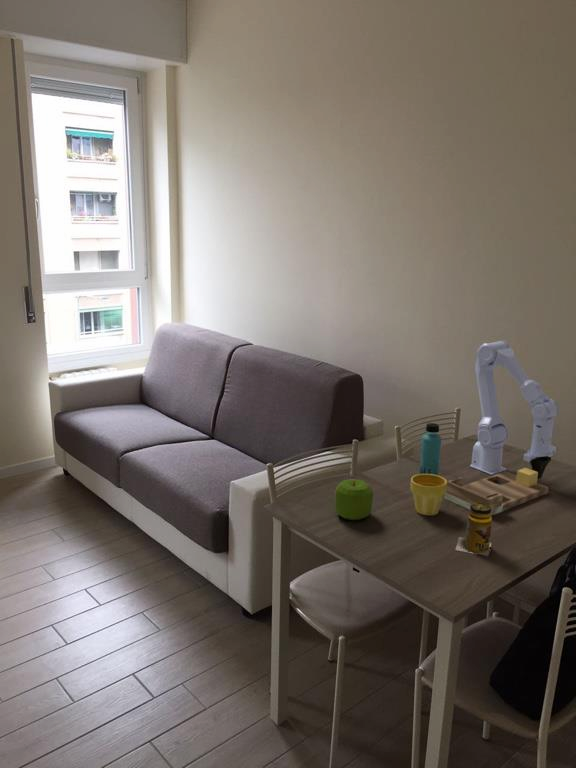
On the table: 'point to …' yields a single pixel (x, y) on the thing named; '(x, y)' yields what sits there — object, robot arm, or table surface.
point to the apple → (353, 499)
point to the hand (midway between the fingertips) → (537, 477)
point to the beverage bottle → (430, 450)
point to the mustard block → (526, 477)
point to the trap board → (493, 492)
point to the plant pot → (428, 492)
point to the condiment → (477, 530)
